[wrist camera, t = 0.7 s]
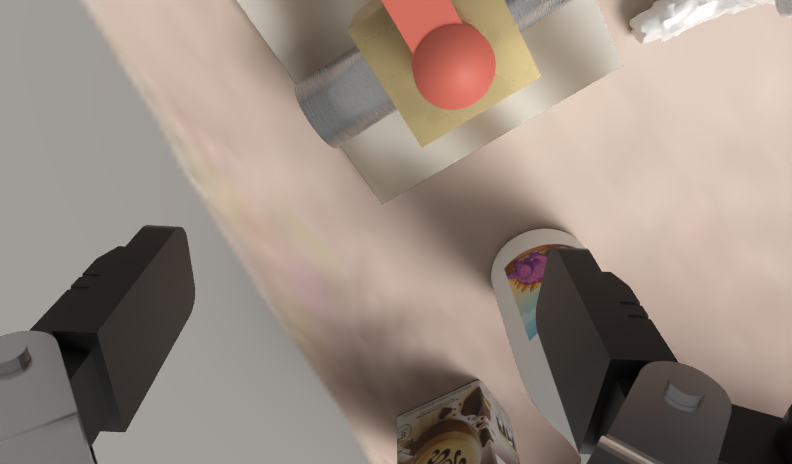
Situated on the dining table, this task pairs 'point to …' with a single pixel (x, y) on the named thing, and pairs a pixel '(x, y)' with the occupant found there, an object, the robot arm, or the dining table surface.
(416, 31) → the valve lever
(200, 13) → the dining table surface
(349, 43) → the mounting board
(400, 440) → the coffee box
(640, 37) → the sitting furry creature
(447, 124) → the valve body
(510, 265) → the milk bottle
